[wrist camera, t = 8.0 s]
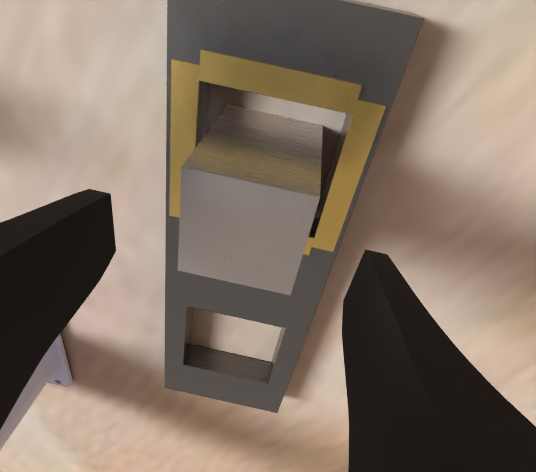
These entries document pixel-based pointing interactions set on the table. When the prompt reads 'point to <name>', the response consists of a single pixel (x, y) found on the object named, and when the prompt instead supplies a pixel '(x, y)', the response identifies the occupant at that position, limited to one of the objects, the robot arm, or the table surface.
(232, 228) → the grey rectangular block
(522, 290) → the table surface
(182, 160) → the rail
